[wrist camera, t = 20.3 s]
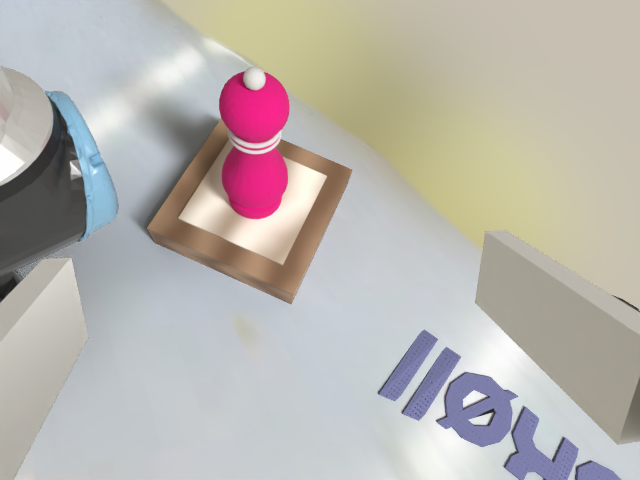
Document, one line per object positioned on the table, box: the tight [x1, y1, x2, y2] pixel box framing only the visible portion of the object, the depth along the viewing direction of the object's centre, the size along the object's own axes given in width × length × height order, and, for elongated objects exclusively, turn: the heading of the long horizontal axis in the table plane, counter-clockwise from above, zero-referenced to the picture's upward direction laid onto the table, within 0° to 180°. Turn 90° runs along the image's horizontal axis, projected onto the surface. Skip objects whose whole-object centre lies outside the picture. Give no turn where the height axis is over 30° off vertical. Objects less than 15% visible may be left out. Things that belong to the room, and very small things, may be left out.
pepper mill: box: [219, 67, 289, 219], centre depth 44 cm, size 7×7×20 cm
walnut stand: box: [147, 118, 352, 304], centre depth 55 cm, size 18×18×4 cm
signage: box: [379, 330, 621, 480], centre depth 50 cm, size 28×1×10 cm
